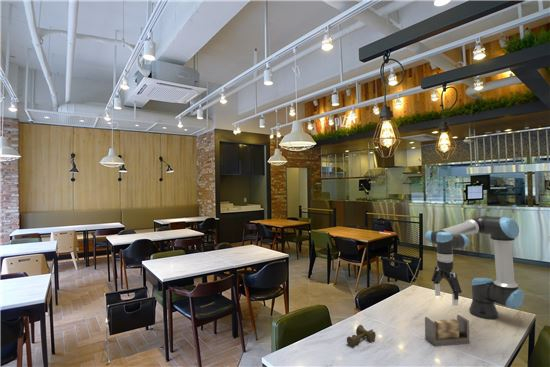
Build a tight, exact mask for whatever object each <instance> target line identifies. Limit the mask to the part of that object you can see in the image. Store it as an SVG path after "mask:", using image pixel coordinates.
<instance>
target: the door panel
mask: <svg viewBox="0 0 550 367" xmlns="http://www.w3.org/2000/svg"><path fill="white" fill-rule="evenodd" d="M433 322H434V323H435V335H436V339H446V338H459V322H458V321H457V319H455V318H451V319H440V320H439V319H438V320H434V321H433Z"/></svg>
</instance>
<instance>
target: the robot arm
mask: <svg viewBox="0 0 550 367" xmlns="http://www.w3.org/2000/svg"><path fill="white" fill-rule="evenodd" d="M519 233H520V227H519V224H518V222H517V221H516V220H515V219H513V218H511V217H505V216H494V215H492V216H491V215H482V216H481V215H480V216H475V217H472V218H467V219H466V220H465V221H464V222H462V223H459V224H455V225H452V226H449V227H446V228H442V229H439V230H428V231H427V232H425V235H424V237H425V240H426V242H428V243H430V244H433V245H436V260H437V261H436V266H434V271H433V275H432V277H431V281H432V282H433V283H434V284H433V285H434V296H435V297H436V296H437V297H441V283H440V282H441V281H442V279H445V281H447V283H448V284H449V286H450V288H451V290H452V292H451V302H452V304H451V305H452V306H455V307H456V306H459V294H462V293H463V291H462V289H461V285H460V282H459V280H458V276H457V273H456V272H454V273H453V272H452V270H453V269H454V252H453V250H455V249H457V250H458V249H464V248H466V247H468V246H469V244H470V240H469V238H468V237H467V235H476V234H482V235H488V236H489V238H490V240H491V241H493V248H494V262H495V263H494V264H495V275H496V276H495V277H496V278H495V279H496V280H494V279H493V278H490V277H474V278H473V279H472V280H471V294H472V295H471V298H472V299H471V300H472V301H471V303H470V306H469V310H468V311H469V313H470V314H471V315H473V316H475V317H477V318H480V319H486V320H496V319H498V318H499V312H498V310H497V308H496V305H495V304H499V305H501V306H505V307H506V308H511V309H518V308H520V307H521V305H522V303H523V302H524V298H525V295H524V292H523V290H521V289H519V284H518V283H517V282H516V281H515V270H514V256H513V244H512V243H513V242H515V240H516V238H518V236H519Z"/></svg>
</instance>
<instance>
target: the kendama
mask: <svg viewBox="0 0 550 367" xmlns="http://www.w3.org/2000/svg"><path fill="white" fill-rule="evenodd" d="M355 333H356V334H352V336H347V338H346V342H347V345H348V346H349V347H350V348H351V347H352V348H354V347H355V345H356V344H357V345H358V344H359V343H360V340H362V339H363V338H366V339H367V340H368V341H369V343H374V341H375V340H376V337H377V336H376V335H377V334H376V332H375V331H374V329H370V330H366V329H365V327H364V326H363V324H359V325H358V326H357V327H356V329H355Z"/></svg>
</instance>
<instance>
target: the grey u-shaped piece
mask: <svg viewBox="0 0 550 367" xmlns="http://www.w3.org/2000/svg"><path fill="white" fill-rule="evenodd" d="M456 320H457V321H458V322H459V338H446V339H436V335H435V323H434V321H433V320H431V319H430V318H429V317H427V316H426V317H424V332H425V333H424V338H425V340H426V341H427V342H428V343H429V344H430V345H431V346H433V347H439V346H440V347H441V346H452V345H453V346H454V345H466V344H470V320H469V319H467V318H465V317H463V316H462V315H460V314H457V315H456Z"/></svg>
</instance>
